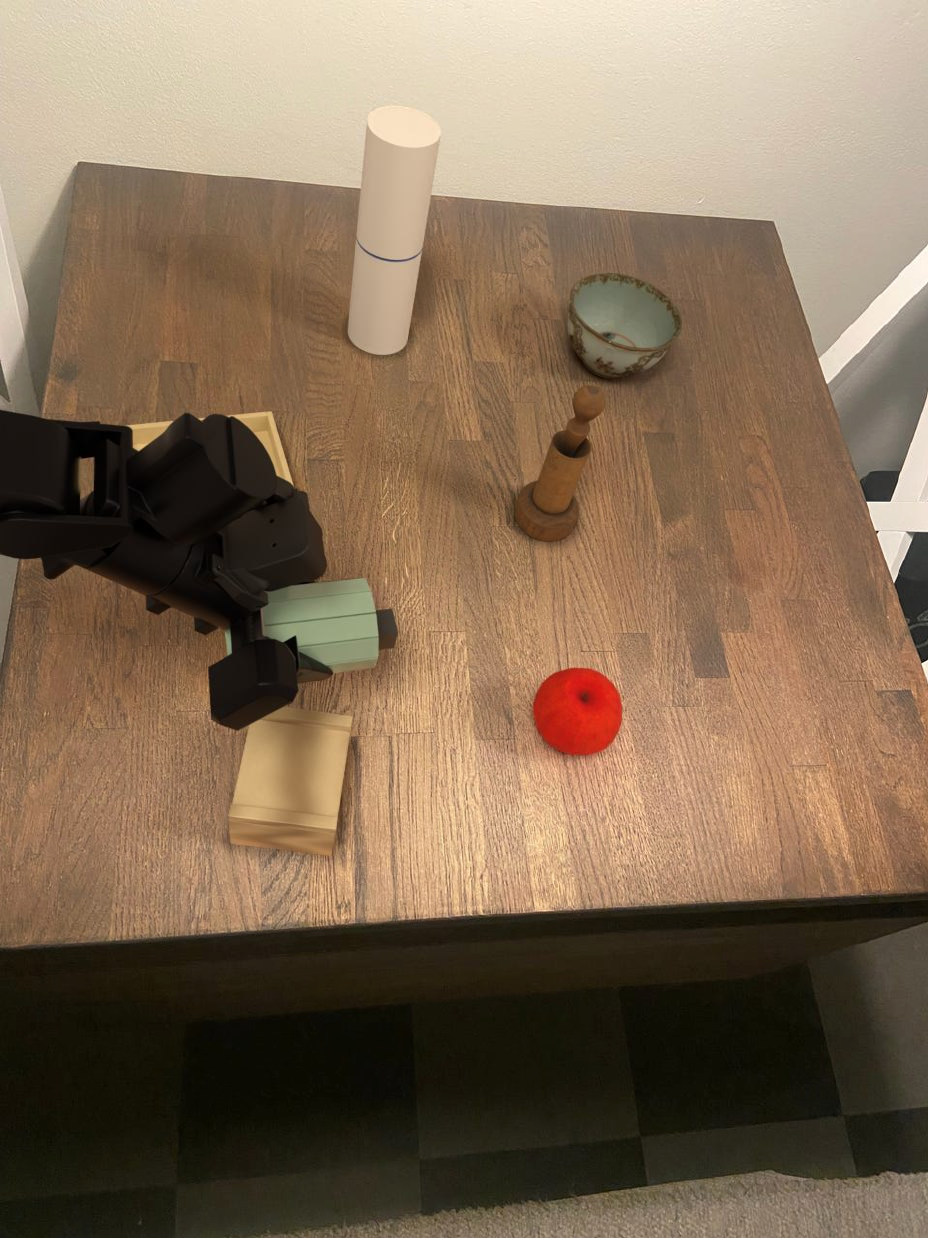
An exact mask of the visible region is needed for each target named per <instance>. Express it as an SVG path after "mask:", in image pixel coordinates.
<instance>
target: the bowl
mask: <svg viewBox="0 0 928 1238" xmlns="http://www.w3.org/2000/svg"><path fill="white" fill-rule="evenodd" d="M567 313H568V314H567V321H566V323H567V333H568V338H569V340H570V343H571V346H572V348H573V349H574V351H575V353H576V355H577V356H578V357H579V359H580V360H582V363H583V364H584V366H585V367H586V369H588V371H589V372H590V373H592V374H594V375H595V376H598V377H600V378H605V379H619V378H621V377H628V376H633V375H637V374H639V373H643V372H645V371H647V370H649V369H650V368H652V367H653V366H654V365H656V364H657V363H658V362H659V361H660V360H661V359H663V358H664V356H665V355H666V353H667V352H668V350H669V349H670V347H671V346H672V345H673V344H674V343H675V341H677V340H678V338H679V336H680V335H681V331H682V329H683V319H682V315H681V313H680V310H679V309H678V307H677V306H676V305H675V303H674V301H673V300H672V299H671V298H670V297H669V296H667V295H666V294H665V293H664V292H663V291H662V290H660V289H659V288H658V287H656V286H655V285H653V284H652V283H649V282H647V281H645V280H643V279H641V278H638V277H634V276H632V275H627V274H623V273H618V272H603V273H602V272H601V273H595V274H590V275H587V276H585V277H583V278H581V279H579V280H578V281H577V282H575V283H574V285H573V287H572V288H571V290H570V295H569V307H568V311H567Z"/></svg>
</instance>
